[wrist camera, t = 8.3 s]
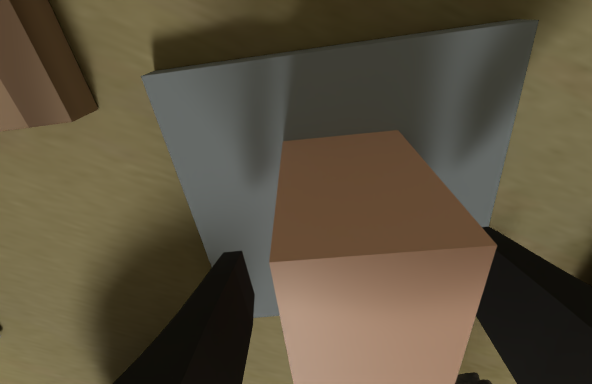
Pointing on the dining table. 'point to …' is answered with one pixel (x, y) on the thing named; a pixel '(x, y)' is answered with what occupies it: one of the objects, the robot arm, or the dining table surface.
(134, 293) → the dining table surface
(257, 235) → the mat
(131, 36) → the dining table surface
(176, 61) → the dining table surface
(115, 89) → the dining table surface
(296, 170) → the terracotta block
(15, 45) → the brown wooden frame
